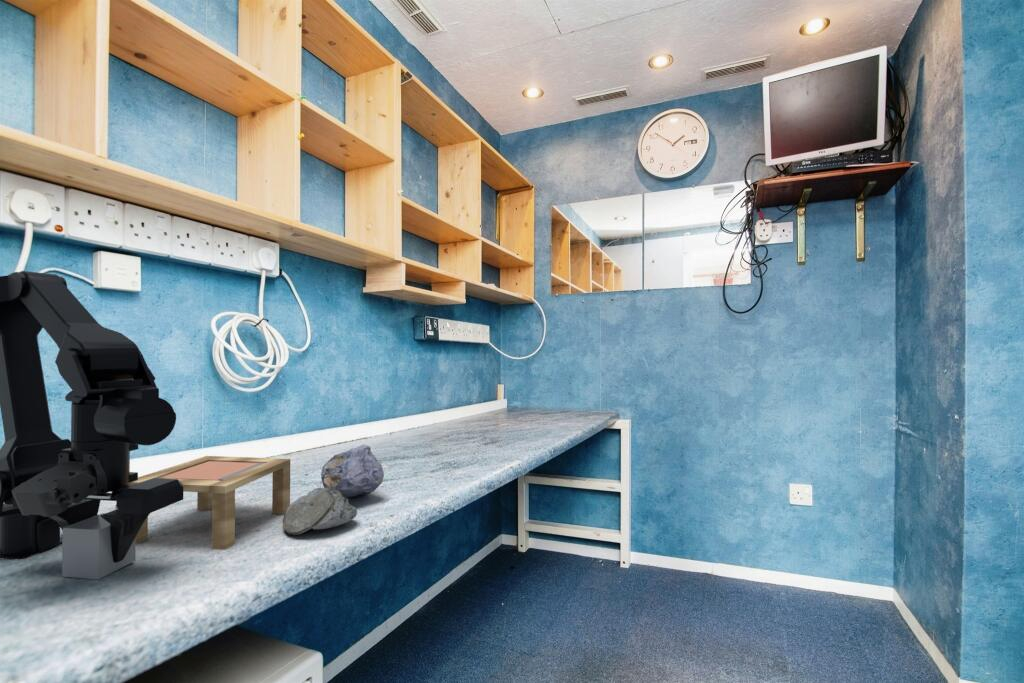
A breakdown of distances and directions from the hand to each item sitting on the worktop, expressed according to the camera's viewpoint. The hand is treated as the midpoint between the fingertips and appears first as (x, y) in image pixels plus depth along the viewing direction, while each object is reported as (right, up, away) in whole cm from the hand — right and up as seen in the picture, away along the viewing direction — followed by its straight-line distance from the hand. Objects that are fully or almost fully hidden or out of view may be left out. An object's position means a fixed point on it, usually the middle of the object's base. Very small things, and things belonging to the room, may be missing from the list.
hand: (99, 559), depth 61 cm
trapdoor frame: (+5, -2, +16) cm, 16 cm away
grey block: (0, -1, 0) cm, 1 cm away
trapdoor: (+5, +6, +16) cm, 18 cm away
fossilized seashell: (+18, -4, +17) cm, 25 cm away
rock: (+22, -2, +28) cm, 36 cm away
